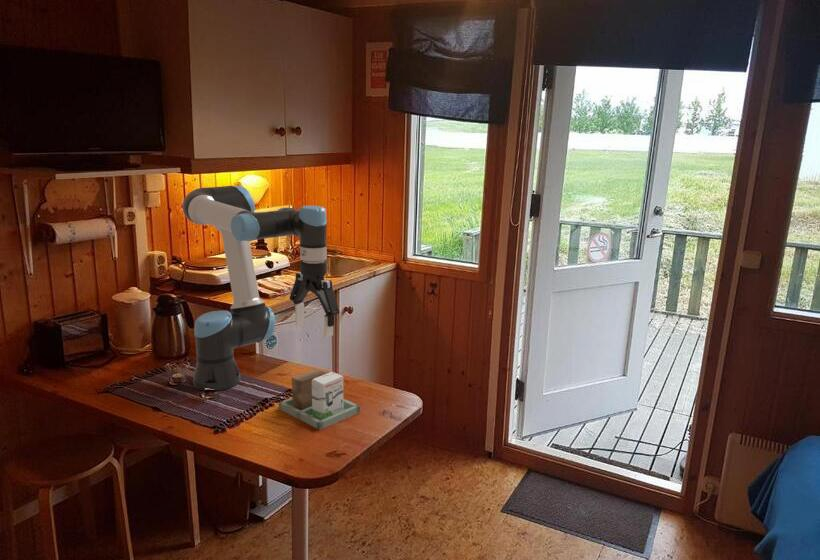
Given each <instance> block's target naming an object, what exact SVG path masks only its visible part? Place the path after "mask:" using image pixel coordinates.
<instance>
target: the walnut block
mask: <svg viewBox="0 0 820 560" xmlns="http://www.w3.org/2000/svg"><path fill="white" fill-rule="evenodd" d="M325 374H327V373H326V372H324V371H322V370H319V369H317V368H314V369H311V370H308V371H305V372H302V373H299V374H297V375H293V376H291V393H292V395H291V396H292V397H291V398H292V400H293V407H294V408H296V409H298V410H300V411H301V410H303V409H306V408H308V407H311V406H312V380H313V379H314V378H317V377H319V376H322V375H325Z"/></svg>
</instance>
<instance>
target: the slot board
mask: <svg viewBox="0 0 820 560" xmlns="http://www.w3.org/2000/svg"><path fill="white" fill-rule="evenodd" d="M343 403H344V411H341V412H339V413H337V414H335V415H332V416H330V417H328V418H325V419H323V420H321V421H320V420H318V419H316V418H314V417H312V406H311V407H308V408H306V409H303V410H301V411H300V410H298V409H296V408H294V407H293V400H292V397H289V398H288V399H284V400H282V401H280V402H278V409H279V410H280V411H283V412H284V413H286V414H287V415H288V414H289V415H290V416H292V417H294V418H296V419H298V420H300V421H302V422H304V423H306V424H307V425H310V426H312V427H314V429H317V430H319V431H321V430H323V429H326V428H328V427H330V426H332V425H335V424H337V423H339V422H342V421H344V420H346V419H348V418H350V417H353V416H355V415H357V414H359V413H361V405H358V404H357V403H354V402H352V401H350V400H348V399H345V398H343Z"/></svg>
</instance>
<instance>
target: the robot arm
mask: <svg viewBox="0 0 820 560" xmlns="http://www.w3.org/2000/svg"><path fill="white" fill-rule="evenodd" d="M255 205H256V204H255V201H254V198H253V196H252V194H251V192H250V191H249V190H248V189H247V188H245V187H244V186H243V185H223V186H222V185H221V186H212V187H210V186H209V187H199V188H195V189H194V190H192V191H190V192H189V193H187V195H186V196H185V197H184V199H183V201H182V206H181V207H182V212H183V214H184V217H186V219H187V220H189V221H190V222H192V223H194V224H197V225H201V226H205V225H209V226H212V227H215V229H216V230H217V231H219V232H220V234H221V239H222V244H223V249H224V255H225V260H226V261H225V262H226V266H227V272H228V276H229V283H230V288H231V292H232V299H233V303H232V304H231V306H230V311H228V310H223V309H222V310H221V309H219V310H211V311H209V312H206V313H203V314H201V315H199V316H198V317H197V318H196V320H195V321H194V329H193V331H194V333H193V335H194V340H195V341H194V342H195V351H196V364H195V369H194V372H193V377H192V385H193V387H194V388H195V389H197V390H200V391H205V390H204V389H205V388H210V389H215V390H216V391H221V390H226V389H227V390H228V389H230V388H232V387H235V386H236V385H238V384H239V383H240V382H241V380H242V379H241V371H240V369H239V367H238V364H237V363H236V360H235V357H234V356H235V355H234V354H235V353H234V349H237V348H241V347H245V346H248V345H252V344H257V343H262V342H263V341H267V340H269V339H270V338H271V337H272V336H273V334H274V332H275V330H276V329H275V328H276V317H275V314H274V312H273V310H272V308H271V307H270V306H267V305H266V303H265V300H263V299H262V298H261V297H260V294H259V288H258V283H257V275H256V271H255V265H254V260H253V254H252V248H251V245H250V244H251V243H250V242H252V241H257V240H263V239H264V240H265V239H271V238H279V237H280V238H281V237H288V236H295V237H298V238H299V259H300V260H301V261H299V268H300V269H299V270H300V271H299V272H296V273H295V280H294V283H293V286H292V289H291V292H290V295H289V301H293V304H294V313H295V316H294V317H295V318H294V320H295V326H300V325H305V303H304V299H305V298H306V297H307V295H308V294H309V292H311V293H312V294H314V295H315V296H316V297H317V298H318V300H319V302H320V304H321V306H322V309H323V311H324V314H325V315H324V317H323V318H324V319H323V322H324V323H323V325H324V326H323V332H324V333H323V337H324V338H329V337H333V336H334V326H335V315H340V309H339V306H338V305H339V304H338V302H337V299H336V295H335V292H334V288H333V282H332V280H331V279H330V280H325V276H326V274H327V269H328V268H327V265H328V264H327V263H328V262H327V261H326V260H328V259H327V256H328V254H327V253H328V252H327V251H328V250H327V249H328V248H327V226H328V225H327V224H328V221H327V211H326V208H325V207H323V206H321V205H303V206H301V207H300V208H299V209H296V208H292V207H281V208H279V209H278V210H270V211H262V212H261V211H256V206H255Z"/></svg>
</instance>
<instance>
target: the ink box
mask: <svg viewBox="0 0 820 560" xmlns="http://www.w3.org/2000/svg"><path fill="white" fill-rule="evenodd" d="M343 399H344V375H341V374H338V373H336V372H335V371H329V372H328V373H326V374H325V375H322V376H319V377H317V378H314V379H313V380H312V417H314V418H316V419H318V420H320V421H321V420H323V419H325V418H328V417H330V416H332V415H335V414H337V413H339V412H341V411H344V403H343Z"/></svg>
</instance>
